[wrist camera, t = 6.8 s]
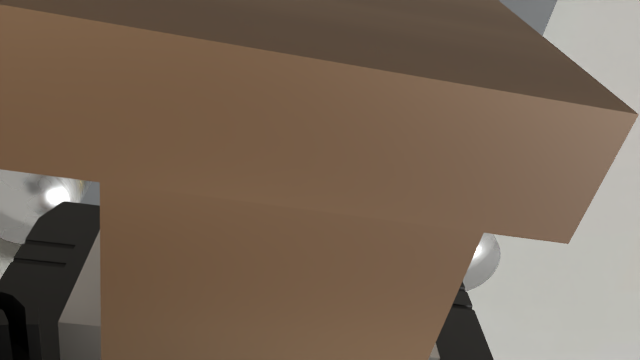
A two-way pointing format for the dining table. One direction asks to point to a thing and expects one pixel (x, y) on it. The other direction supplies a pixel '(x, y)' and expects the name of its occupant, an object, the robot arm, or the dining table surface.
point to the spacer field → (48, 191)
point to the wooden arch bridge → (299, 161)
